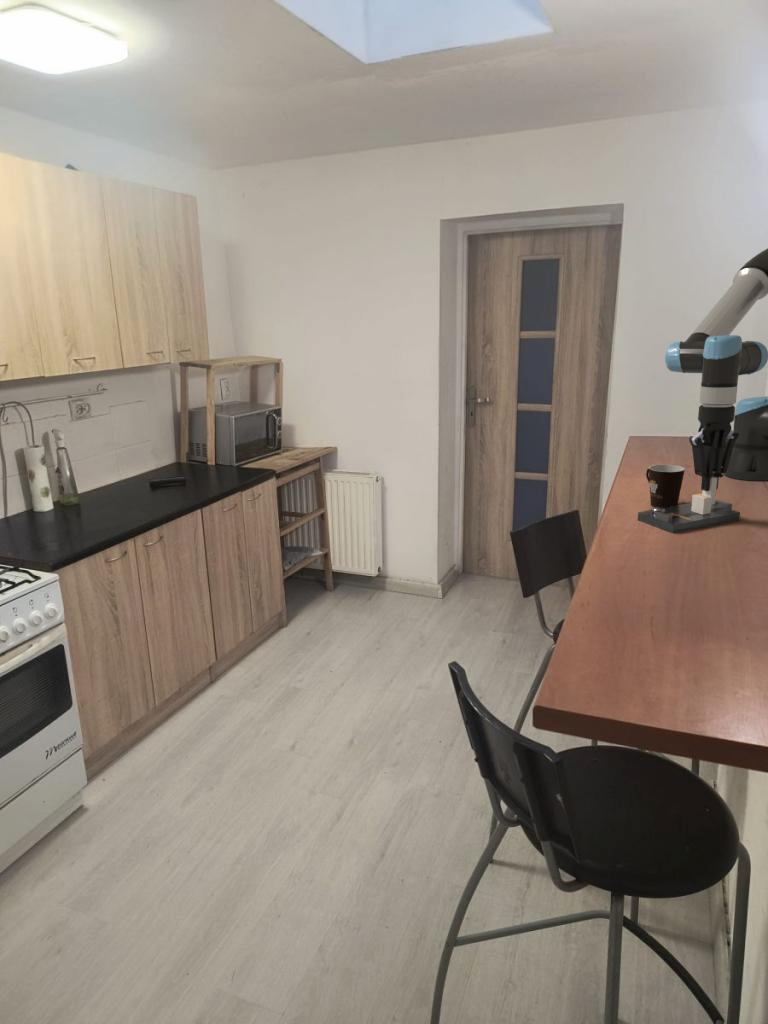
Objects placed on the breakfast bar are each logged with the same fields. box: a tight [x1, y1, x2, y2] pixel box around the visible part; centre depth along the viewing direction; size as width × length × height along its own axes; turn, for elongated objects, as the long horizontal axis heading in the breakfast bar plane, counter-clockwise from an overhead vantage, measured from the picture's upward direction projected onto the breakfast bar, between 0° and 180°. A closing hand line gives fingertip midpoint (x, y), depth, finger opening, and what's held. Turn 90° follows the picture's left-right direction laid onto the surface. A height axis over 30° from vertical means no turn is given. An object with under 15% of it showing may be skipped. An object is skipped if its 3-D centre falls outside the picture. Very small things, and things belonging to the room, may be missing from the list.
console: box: [637, 499, 741, 534], centre depth 161 cm, size 20×12×4 cm, turn 110°
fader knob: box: [691, 493, 712, 515], centre depth 159 cm, size 2×4×4 cm, turn 21°
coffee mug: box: [645, 463, 686, 508], centre depth 174 cm, size 12×9×10 cm
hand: (707, 503), depth 160 cm, fingers closed
